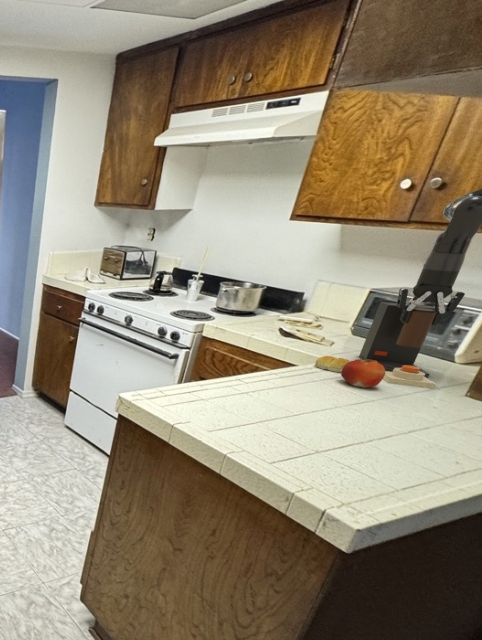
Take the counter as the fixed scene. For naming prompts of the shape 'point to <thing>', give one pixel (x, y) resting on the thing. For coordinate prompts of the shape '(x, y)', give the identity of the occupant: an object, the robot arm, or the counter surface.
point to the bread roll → (331, 363)
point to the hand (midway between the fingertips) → (417, 323)
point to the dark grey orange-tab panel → (389, 339)
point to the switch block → (408, 378)
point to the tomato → (363, 373)
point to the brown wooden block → (416, 328)
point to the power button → (410, 369)
